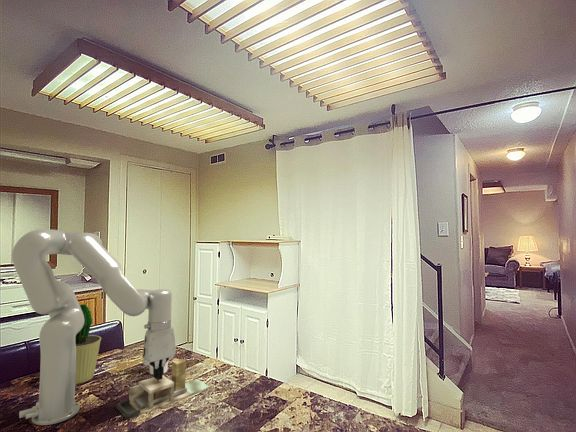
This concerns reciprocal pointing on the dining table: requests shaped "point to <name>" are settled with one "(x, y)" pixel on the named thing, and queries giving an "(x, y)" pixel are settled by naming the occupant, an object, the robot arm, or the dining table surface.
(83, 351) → the potted cactus
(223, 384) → the dining table surface
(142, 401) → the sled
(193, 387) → the tunnel
